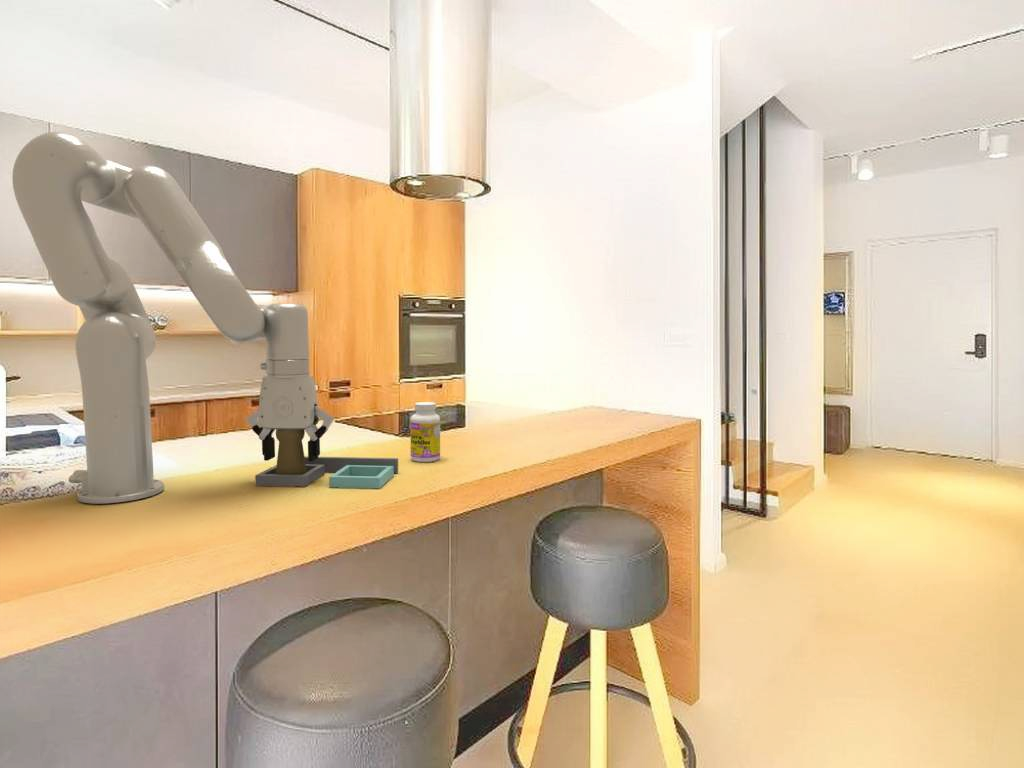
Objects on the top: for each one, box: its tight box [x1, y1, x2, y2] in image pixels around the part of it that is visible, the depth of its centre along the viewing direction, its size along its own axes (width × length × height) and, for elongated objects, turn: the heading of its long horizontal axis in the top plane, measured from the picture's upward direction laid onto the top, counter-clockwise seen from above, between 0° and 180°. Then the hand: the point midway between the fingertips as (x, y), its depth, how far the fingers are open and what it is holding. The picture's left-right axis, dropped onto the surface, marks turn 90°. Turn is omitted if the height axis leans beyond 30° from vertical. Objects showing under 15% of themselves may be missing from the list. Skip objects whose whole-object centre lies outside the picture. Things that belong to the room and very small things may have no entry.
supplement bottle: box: [409, 401, 441, 463], centre depth 130 cm, size 7×7×13 cm
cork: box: [275, 429, 307, 475], centre depth 111 cm, size 6×6×11 cm
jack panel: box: [254, 455, 399, 489], centre depth 112 cm, size 24×12×3 cm, turn 87°
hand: (291, 459), depth 111 cm, fingers open, 8 cm apart
